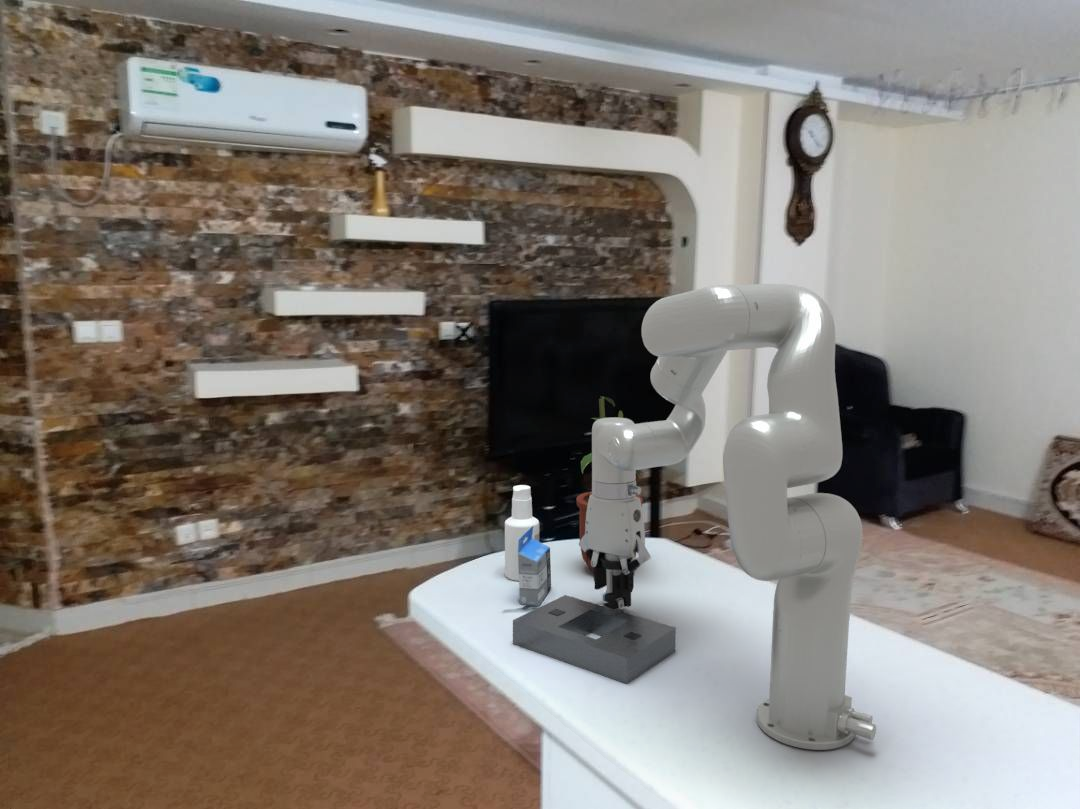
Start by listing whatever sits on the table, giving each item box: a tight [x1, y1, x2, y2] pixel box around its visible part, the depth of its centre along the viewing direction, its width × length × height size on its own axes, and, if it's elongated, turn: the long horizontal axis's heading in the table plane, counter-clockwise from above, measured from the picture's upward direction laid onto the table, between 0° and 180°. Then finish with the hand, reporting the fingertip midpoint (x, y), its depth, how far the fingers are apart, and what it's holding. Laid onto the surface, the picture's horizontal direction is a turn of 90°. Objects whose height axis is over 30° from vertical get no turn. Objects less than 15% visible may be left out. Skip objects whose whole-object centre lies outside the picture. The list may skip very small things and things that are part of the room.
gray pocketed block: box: [512, 594, 677, 685], centre depth 140 cm, size 22×14×4 cm, turn 51°
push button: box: [596, 553, 632, 610], centre depth 153 cm, size 7×5×10 cm
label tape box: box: [518, 526, 552, 607], centre depth 161 cm, size 9×4×12 cm, turn 164°
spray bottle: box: [504, 484, 540, 582], centre depth 171 cm, size 7×7×18 cm
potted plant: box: [575, 396, 644, 572], centre depth 172 cm, size 17×16×35 cm
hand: (613, 589), depth 153 cm, fingers closed on push button, 4 cm apart
